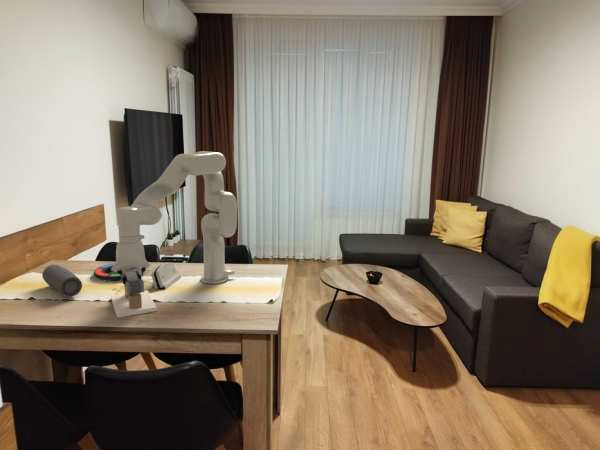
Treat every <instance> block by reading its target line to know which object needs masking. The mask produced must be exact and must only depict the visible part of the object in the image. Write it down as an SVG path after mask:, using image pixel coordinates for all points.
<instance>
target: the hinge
mask: <svg viewBox="0 0 600 450" xmlns="http://www.w3.org/2000/svg"><path fill="white" fill-rule="evenodd" d="M150 276H151V278H152V281H153V282H152V283H153V285H154V288H155V290H156V289H157V290H158V289H159V288H164V290H168V289H169V288H170V287H172V286H173V285H174V284H175V283H177V282H178V281H179V280H181V279H182V276H181V273H178V272H177V269H176V267H175V264H174V263H173V262H164V263H160V264H159V265H158V266H156V267H155V268H154V269H153V270H152V272H151V275H150Z"/></svg>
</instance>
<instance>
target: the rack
mask: <svg viewBox="0 0 600 450" xmlns="http://www.w3.org/2000/svg"><path fill="white" fill-rule="evenodd" d="M123 286H124V293H120V294H113V295H110V299H111V303H112V306H113V309H114V312H115V315H116V318H123V317H129V316H134V315H141V314H146V313H153V312H158V310H157V308H158V307H157V305H156V303H155V302H154V299H153V298H152V297H151V295H150V293H149V290H144V292H141V293H134V294H127V293H126V287H125V285H124V284H123Z"/></svg>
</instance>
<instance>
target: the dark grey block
mask: <svg viewBox="0 0 600 450" xmlns="http://www.w3.org/2000/svg"><path fill="white" fill-rule="evenodd" d="M121 271H122V270H121ZM137 272H138V271H137V269H129V270H126V276H127V282H126V293H127V294H134V293H141V292H144V291H145V282H144V279H141V280H140V279H139V278H138V276H137ZM120 282H122V276H121V281H120Z"/></svg>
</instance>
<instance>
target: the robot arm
mask: <svg viewBox="0 0 600 450" xmlns="http://www.w3.org/2000/svg"><path fill="white" fill-rule="evenodd" d="M226 165H227V160H226V157H225V155H224V154H223V153H221V152H217V151H216V152H215V151H208V150H207V151H205V150H203V151H200V150H199V151H197V152H195V153H194V154H193V153H192V154H191V153H180V154H177V155H175V157H174V158H173V159H172V160H171V162H170V164H169V165H168V166H167V167H166V169H165V170H164V171H163V173H162V174H161V176H160V177H159V178H158V179H157V180H156V181H155V182H153V183H151V184H150V185H148V187H146V188H144V190H143V191H142V190H141V192H140V193H139V194H138V195H137V197H136V198H135V199H134V201H133V203H132V204H131V206H122V207H120V208H118V210H117V226H118V229H117V230H118V242H116V249H115V262H114V263H115V264H114V265H113V267H112V271H114V272H117V273H118V274H120V275H121V276H122V281H121V283H122V285H123V286H124V285H125V287H126V282H127V276H126V269H132V268H137V271H138V272H137V276H138V278H139V279H140V280H142V274H144V273H145V272H146V269H149V267H151V263H150V262H149V261H147V259H146V255H145V246H144V243H143V241H142V240H143V239H145V235H144V234H142V233H141V227H140V226H153V225H156V224H158V223H159V222H161V219H162V216H163V214H162V211H161V210H160V208H159V207H156V206H154V204H156V203H157V202H158V201H159V200H161V199H163V198H166V197H169V196H172V195H174V194H175V193H177V192H178V190H179V189H180V188H181V186H182V185H183V184H184V182H185V181H186V180H187V177H188V176H202V177H203V180H204V206H205V208H206V209H207V210H209V211H211V212H212V211H213V212H216V213H213V212H212V213H207V214H205V215H204V216H203V217H202V218H201V221H200V228H201V233H202V237H203V275H202V276H200V281H201V282H202V283H204V284H207V285H209V284H210V285H217V284H219V285H220V284H223V283H226V282H227V281H228V280H229V276H230V275H231V276H232V275H235V273H236V272H235V270H234V269H233V270H232V269H225V268H226V267H225V263H226V262H225V257H226V256H225V239H224V238H231V237H232V236H233V235H235V233H236V230H237V222H238V202H237V201H238V200H237V199H236V197H235V195H234V194H233V193H232V192H229V191H225V183H224V182H225V181H224V175H223V173H222V171H223V170H225V168H226ZM217 212H218V214H217ZM117 266H118V269H117ZM141 267H142V268H141ZM119 269H122V271H121V270H119ZM144 271H145V272H144ZM225 281H226V282H225ZM125 287H124V288H125Z"/></svg>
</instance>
